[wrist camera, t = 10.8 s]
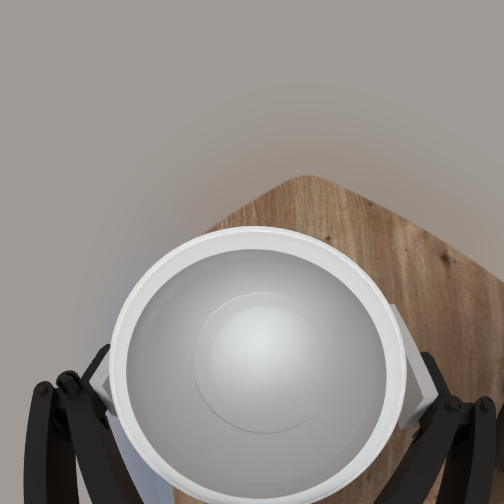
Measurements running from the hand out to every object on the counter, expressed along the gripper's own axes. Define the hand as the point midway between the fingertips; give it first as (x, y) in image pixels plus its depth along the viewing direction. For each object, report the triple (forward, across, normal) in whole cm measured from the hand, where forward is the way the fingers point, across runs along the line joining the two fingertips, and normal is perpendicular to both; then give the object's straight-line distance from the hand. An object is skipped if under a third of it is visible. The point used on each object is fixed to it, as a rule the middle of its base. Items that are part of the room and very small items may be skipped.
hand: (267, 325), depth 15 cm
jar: (+4, 0, -8) cm, 9 cm away
